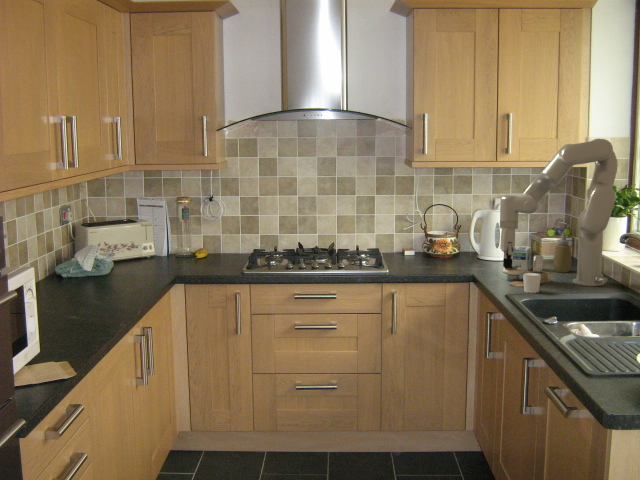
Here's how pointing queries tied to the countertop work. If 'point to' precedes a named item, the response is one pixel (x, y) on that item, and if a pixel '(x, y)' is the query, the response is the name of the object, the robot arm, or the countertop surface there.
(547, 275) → the block
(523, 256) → the light bulb box
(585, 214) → the robot arm
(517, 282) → the coaster
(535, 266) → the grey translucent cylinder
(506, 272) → the crank wheel
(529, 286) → the white cup
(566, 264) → the squeeze bottle
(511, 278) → the wheel post
